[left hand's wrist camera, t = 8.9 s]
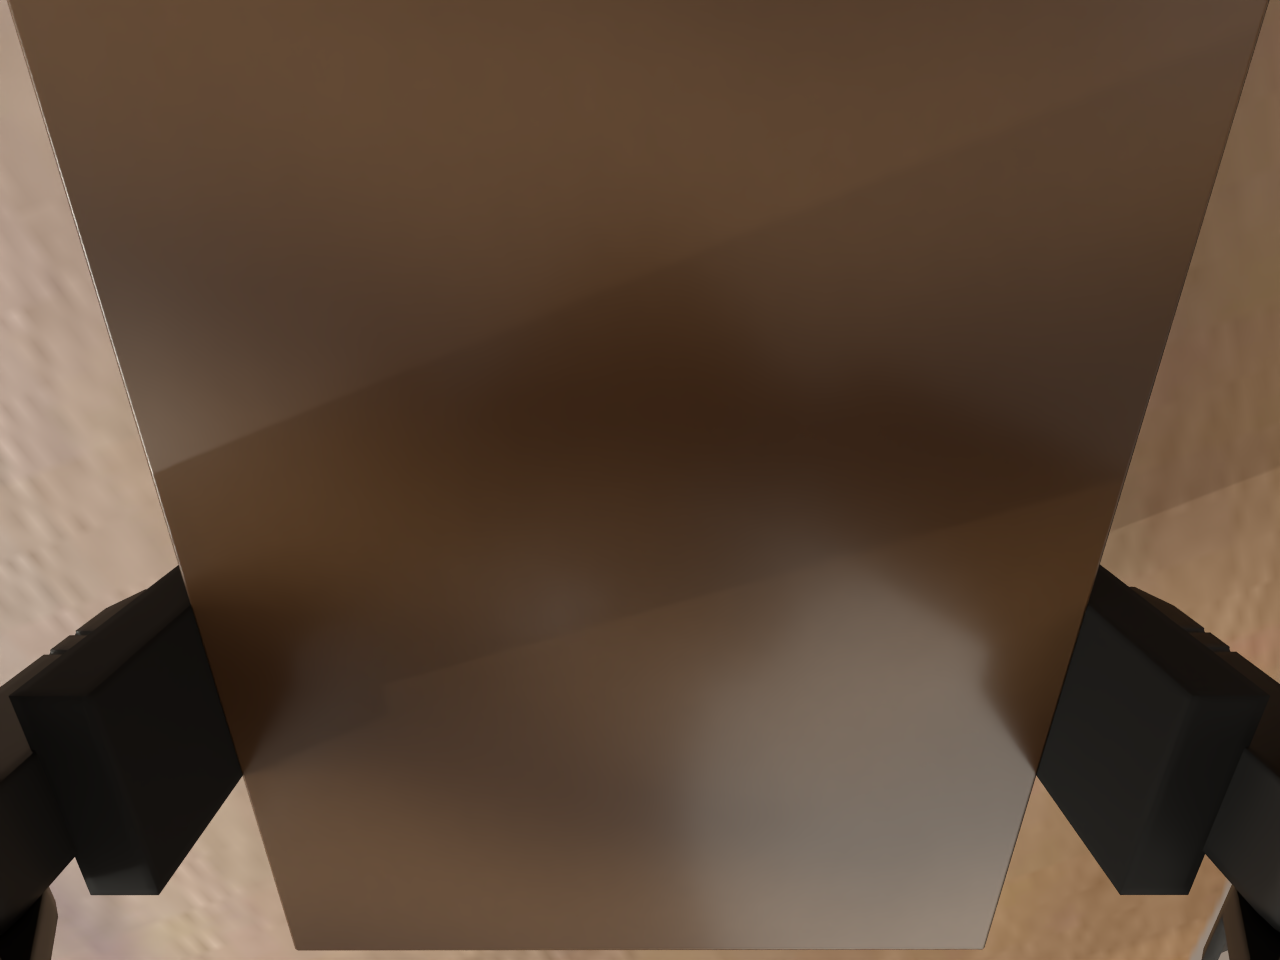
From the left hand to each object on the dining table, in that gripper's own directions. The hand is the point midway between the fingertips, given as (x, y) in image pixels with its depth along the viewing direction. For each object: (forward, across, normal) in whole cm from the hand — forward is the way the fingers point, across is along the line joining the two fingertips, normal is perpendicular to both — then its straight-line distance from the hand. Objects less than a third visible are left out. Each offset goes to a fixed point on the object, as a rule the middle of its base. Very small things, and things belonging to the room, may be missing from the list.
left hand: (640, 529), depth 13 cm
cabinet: (+3, 0, -4) cm, 5 cm away
